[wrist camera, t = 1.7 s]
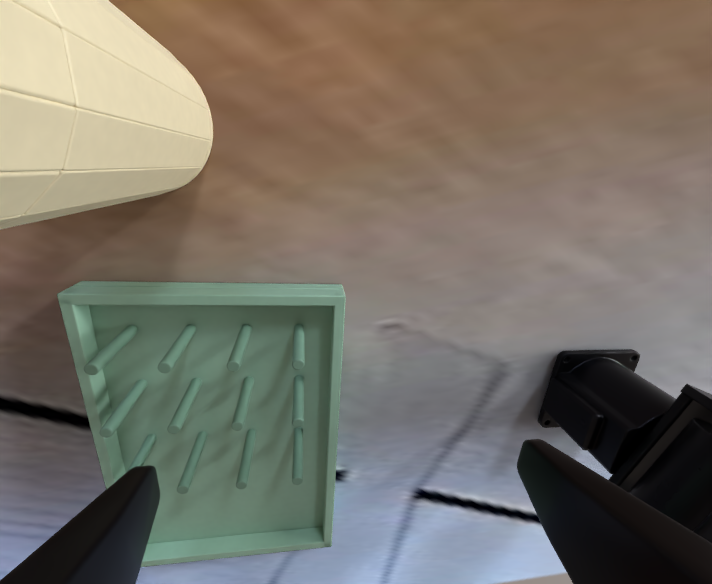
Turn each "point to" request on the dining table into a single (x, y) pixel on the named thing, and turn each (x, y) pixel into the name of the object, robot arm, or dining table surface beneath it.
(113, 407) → the dish rack
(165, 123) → the beige cylindrical vase
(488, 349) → the dining table surface
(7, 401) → the dining table surface
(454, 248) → the dining table surface
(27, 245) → the dining table surface
